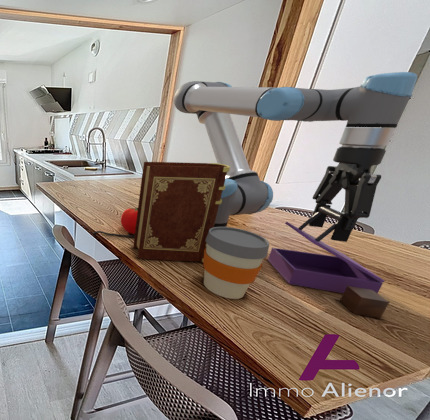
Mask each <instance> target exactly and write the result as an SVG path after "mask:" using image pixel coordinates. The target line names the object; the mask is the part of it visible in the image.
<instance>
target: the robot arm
mask: <svg viewBox="0 0 430 420" xmlns="http://www.w3.org/2000/svg"><path fill="white" fill-rule="evenodd" d="M417 81H418V75H417V74H416V72H411V71H399V72H397V71H396V72H386V73H385V72H384V73H378V74H372V75H368V76H366V77H365V78H363V80H362V83H361V84H360V85H359V86H355V87H348V88H338V89H337V88H336V89H335V88H334V89H320V88H304V87H303V88H301V87H294V86H280V87H268V86H267V87H266V86H263V87H261V86H259V87H258V86H257V87H255V86H232V85H231V84H229V83H227V82H222V81H214V82H213V81H202V80H201V81H200V80H192V81H188V82H185V83H184V84H182V85H181V86H179V88H177V90H176V92H175V94H174V97H173V104H174V107H175V108H176V110H177V111H178V112H179V113H184V114H192V115H194V114H195V115H196V117H197V120H198V122H199V124H201V125H202V124H203V125H204V127H205V130H206V133H207V136H208V139H209V143H210V146H211V148H212V152H213V154H214V157H215V160H216V163H218V164H224V165H228V166H230V170H229V172H227V175H226V179H225V183H224V185H225V189H224V190H223V191H222V195H221V200H222V202H221V204H219V208H218V212H217V216H216V220H215V224H214V227H228V222H229V220H230V217H231V216H241V215H253V214H258V213H261V212H263V211H265V210H267V209H268V208H269V207H270V204H272V202H273V199H274V190H273V188H272V186H271V185H270V184H269V183H268V182H265V181H263V180H261V179H260V177H259V174H258V172H257V171H256V170H253V169H250V165H249V162H248V160H247V157H246V155H245V152H244V149H243V146H242V143H241V141H240V137H239V135H238V133H237V130H236V127H235V125H234V121H233V118H232V116H231V115H237V116H245V117H253V118H261V119H263V120H268V121H272V122H273V121H274V122H275V121H276V122H281V121H295V122H296V121H297V122H304V123H305V122H308V123H313V122H333V121H334V122H335V121H338V122H339V121H346V125H345V127H344V129H343V132H342V134H341V137H340V140H339V143H338V144H339V145H341V146H339V147H337V148H336V151H335V154H334V157H333V162H334V163H338V164H337V165H336V166H335V165H328V166H327V167H326V170H325V173H324V175H323V177H322V179H321V181H320V183H319V185H318V186H317V188H316V190H315V192H314V194H313V195H312V200H315V207H314V210H313V212H312V215H311V217H312V216H313V215H314V214H315V213H316V212H318V207H319V206H321V205H325V206H327V207H330V208H332V205H333V202H332V201H333V200H334V199H335V198H336V197H337V195H338V194H339V193H340V192H341V191H342V190H344V213H343V214H340V218H339V220H338V223H337V225H336V227H335V229H334V230H333V231H332V234H331V237H330V240H331V241H334V242H335V241H336V242H343V243H344V242H345V243H347V242H348V240H349V238H350V237H351V233H352V232H353V230H354V228H355V226H356V224H357V222H358V220H359V219H364V218H365V219H368V218H369V217H370V215H371V211H372V207H373V202H374V199H375V194H376V191H377V187H378V184H379V183H380V181H381V179H382V175H381V174H375V173H372V172H371V169H372V167H373V166H379V165H380V164H382V162H383V159H384V157H385V154H386V152H387V150H386V148H384V147H388V146H389V144H390V143H391V140H392V137H393V136H394V135H395V131H396V129H397V126H398V124H399V122H400V120H401V118H402V116H403V114H404V111H405V110H406V108H407V106H408V103H409V101H410V99H411V98H412V96H413V92H414V89H415V85H416V83H417ZM327 217H328V216H327V215H325V214H323V213H321V214H320V215H319V216H318V217H317V218H315V219H314V220H313V221H312V222H311V223H309V224H308V226H309V227H314V228H323V227H324V223H325V222H326V220H327ZM96 234H103V235H107V236H115V237H124V238H125V237H126V238H134V236H135V235H134V234H129V235H128V234H121V233H111V232H105V231H102V230H96V231H94V232H92V235H96Z"/></svg>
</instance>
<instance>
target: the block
mask: <svg viewBox="0 0 430 420" xmlns="http://www.w3.org/2000/svg"><path fill="white" fill-rule="evenodd" d="M339 302H340V303H342V304H343V305H344V306H345V307H346V308H347V309H348V310H349V311H350V312H351V313H353V314H355V315H359V316H366V317H370V318H375V319H381V317H382V316H383V314H384V313H385V310H386V309H387V307H388V305H389V304H390V301H388V300H387V299H386V298H384V297H383V296H382V295H380V294H379V293H376V292H375V291H373V290H370V289H364V288H358V287H352V286H347V287H346V290H345V292H344V293H342V296H341V298H340V301H339Z"/></svg>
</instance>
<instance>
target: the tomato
mask: <svg viewBox="0 0 430 420" xmlns="http://www.w3.org/2000/svg"><path fill="white" fill-rule="evenodd" d="M137 212H138V207H133V208H132V207H128V208H127V209H125V210H124V211H123V212H122V214H121V216H120V224H121V227H122V228H123V229H124V230H125V232H127V233H128V234H129V235H135V228H136V220H137Z"/></svg>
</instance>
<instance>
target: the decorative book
mask: <svg viewBox="0 0 430 420" xmlns="http://www.w3.org/2000/svg"><path fill="white" fill-rule="evenodd" d="M229 170H230V166H228V165H224V164H218V163H217V162H209V163H208V162H179V161H177V162H171V161H143V167H142V174H141V181H140V189H139V197H138V206H137V208H138V212H137V220H136V228H135V234H134V235H133V236H134V237H133V245H132V248H133V249H138V251H137V252H138V253H137V259H145V260H157V261H158V260H159V261H176V262H177V261H179V262H200V263H203V261H204V250H205V248H206V246H207V243H206V237H207V235H208V232H209V230H210V229H211V228H213V227H214V224H215V220H216V216H217V212H218V208H219V204H221V202H222V200H221V195H222V191H223V190H224V189H225V185H224V183H225V179H226V175H227V172H229Z"/></svg>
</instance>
